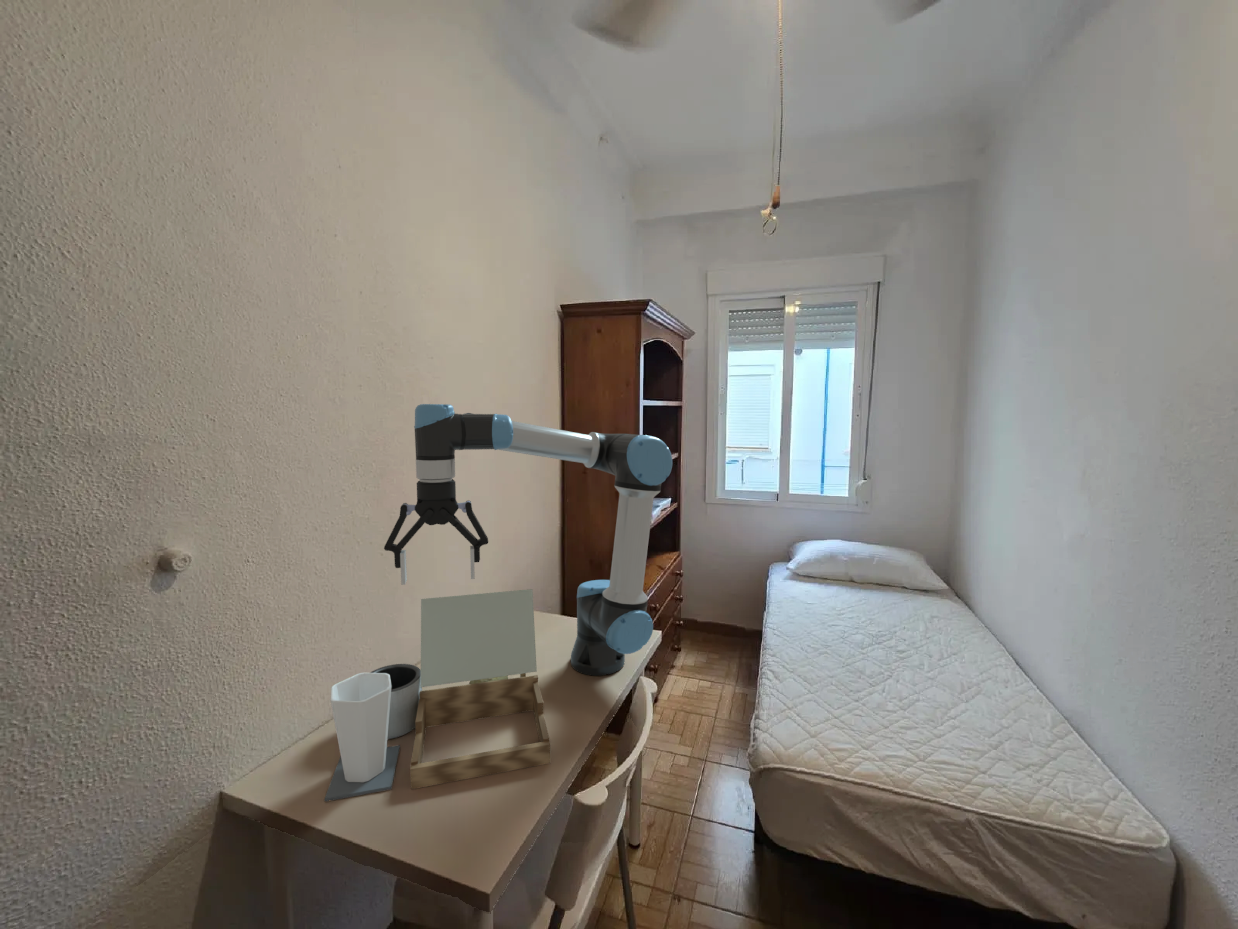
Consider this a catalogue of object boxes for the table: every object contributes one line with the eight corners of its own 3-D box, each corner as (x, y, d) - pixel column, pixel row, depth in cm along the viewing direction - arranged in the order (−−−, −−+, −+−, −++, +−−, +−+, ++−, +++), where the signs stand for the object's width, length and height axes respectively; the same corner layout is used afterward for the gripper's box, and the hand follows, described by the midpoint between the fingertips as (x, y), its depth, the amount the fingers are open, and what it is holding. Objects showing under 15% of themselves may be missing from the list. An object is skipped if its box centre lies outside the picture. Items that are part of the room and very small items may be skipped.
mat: (399, 747, 105) (399, 745, 105) (391, 789, 93) (391, 786, 93) (341, 757, 102) (341, 754, 102) (324, 801, 90) (324, 798, 90)
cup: (352, 799, 90) (347, 709, 88) (321, 777, 95) (316, 692, 94) (407, 762, 99) (404, 681, 98) (376, 744, 105) (373, 666, 103)
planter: (434, 720, 114) (433, 673, 113) (382, 750, 104) (380, 699, 103) (402, 702, 121) (400, 657, 120) (350, 728, 111) (348, 680, 110)
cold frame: (535, 696, 124) (534, 634, 122) (550, 763, 101) (550, 687, 99) (422, 713, 117) (420, 647, 115) (410, 789, 93) (407, 708, 92)
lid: (536, 671, 118) (536, 671, 119) (532, 589, 123) (532, 589, 125) (420, 687, 111) (421, 686, 112) (421, 599, 116) (421, 599, 117)
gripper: (497, 475, 110) (499, 569, 112) (372, 478, 103) (377, 579, 105) (499, 480, 103) (501, 580, 105) (365, 484, 96) (370, 591, 98)
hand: (439, 580), depth 105 cm, fingers open, 13 cm apart
